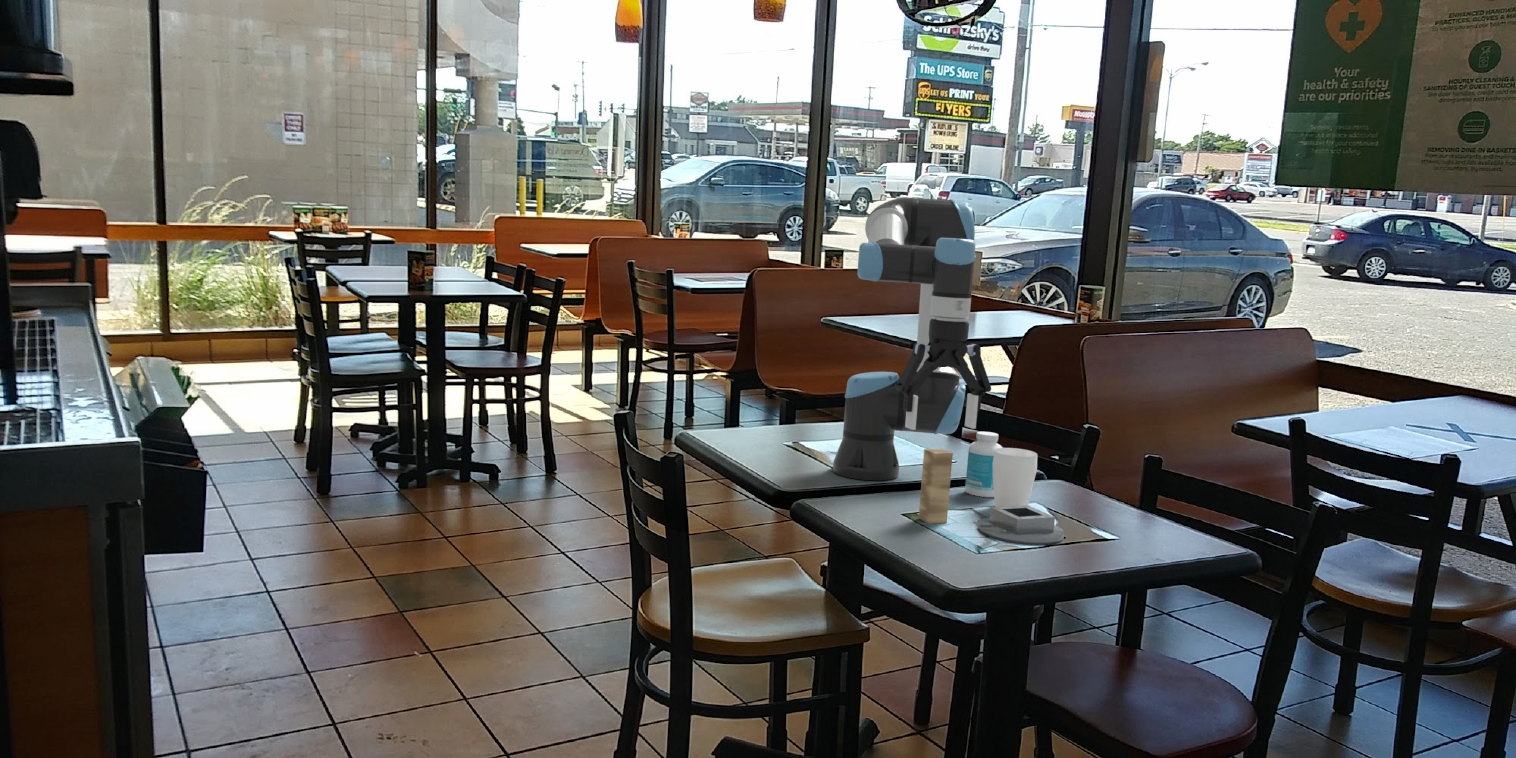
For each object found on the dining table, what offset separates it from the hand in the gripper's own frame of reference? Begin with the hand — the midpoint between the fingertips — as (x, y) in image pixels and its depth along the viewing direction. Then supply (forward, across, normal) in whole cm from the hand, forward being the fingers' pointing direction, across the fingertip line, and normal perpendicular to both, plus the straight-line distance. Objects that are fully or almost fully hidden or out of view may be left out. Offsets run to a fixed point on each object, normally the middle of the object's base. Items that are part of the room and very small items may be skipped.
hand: (940, 428), depth 221 cm
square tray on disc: (+19, +13, -11) cm, 25 cm away
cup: (+19, +22, +5) cm, 30 cm away
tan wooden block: (+19, 0, 0) cm, 19 cm away
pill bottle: (+19, +23, +17) cm, 34 cm away
